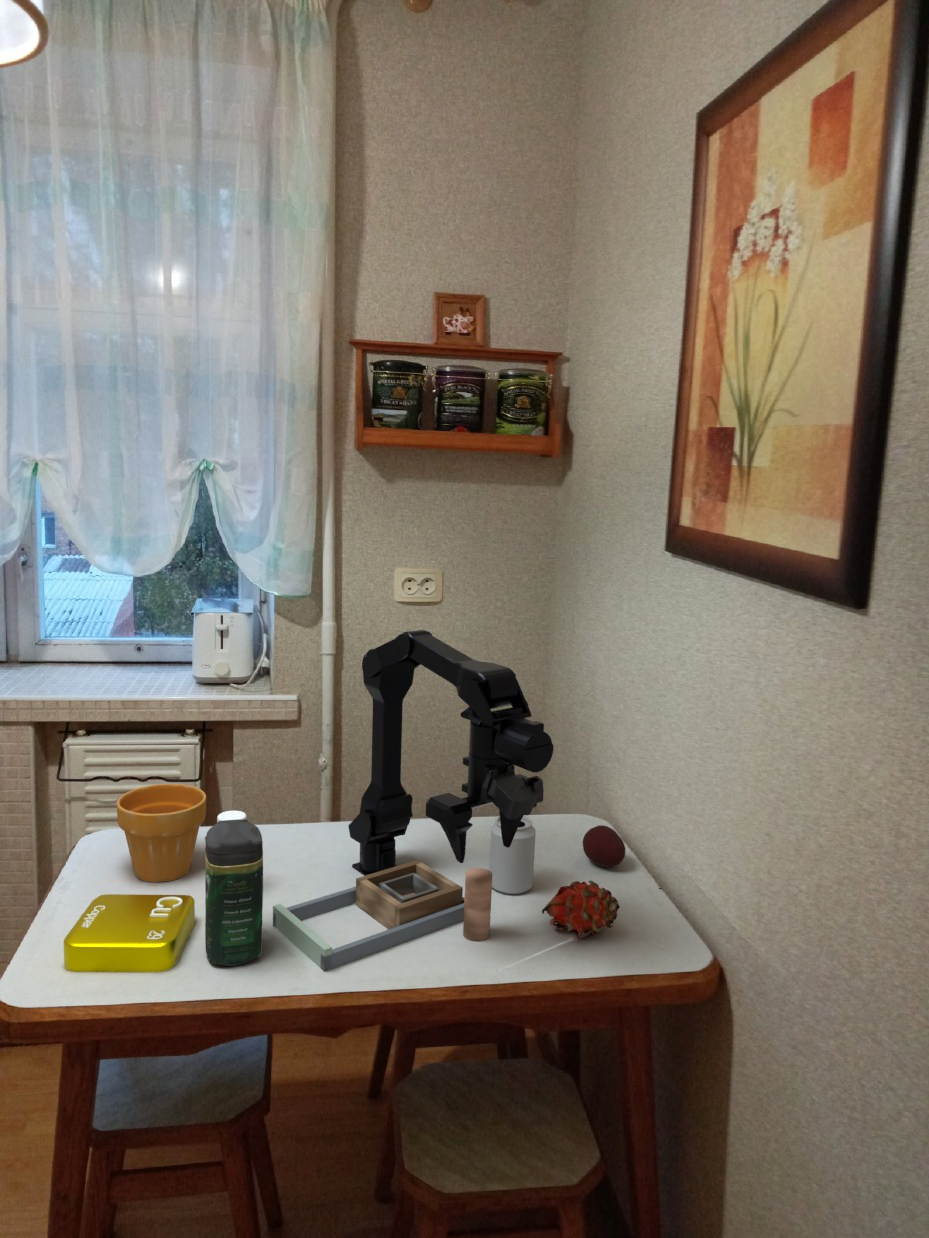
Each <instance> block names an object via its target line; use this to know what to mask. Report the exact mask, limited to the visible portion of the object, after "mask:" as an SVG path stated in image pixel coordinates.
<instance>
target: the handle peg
mask: <svg viewBox="0 0 929 1238" xmlns="http://www.w3.org/2000/svg"><path fill="white" fill-rule="evenodd" d="M464 876H465V882H464V898H465V899H464V921H463V928H462V936H463V938H465V940H468V941H470V942H476V943H477V942H483V941H486V940H488V939H489V938H490V933H491V913H492V893H493V890H492V889H493V887H492V872H490V871H489V869H486V868H482V867H481V868H480V867H474V868H469V869H468V870H466V872H465V875H464Z"/></svg>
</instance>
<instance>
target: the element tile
mask: <svg viewBox="0 0 929 1238" xmlns="http://www.w3.org/2000/svg"><path fill="white" fill-rule="evenodd" d="M195 902H196V901H195V898H194V897H193V896H192V895H190V894H189V895H188V894H121V893H120V894H118V893H117V894H113V893H112V894H109V893H108V894H100V895H99V896H97V897H95V898H94V899H93V900H92V901H91V902H90V903H89V905H88V906H87V907H86V908H85V910H84V912H83V913H82V914H81V916H80V917H79V918H78V920H77V921H76V923H75V924H74V925H73V927H72V928H71V929H70V931H69V932H68V933H67V935H66V936H65V938H64V939H63V941H62V942H63V960H64V963H63V965H64V969H65V970H66V971H69V972H72V973H161V972H162V973H163V972H166V971H169V970H170V969H172V968H174V967H175V966H176V965H177V963H178V961H179V959H180V957H181V955H182V952H183V951H184V947H185V946H186V943H187V941H188V939H189V937H190V935H191V934H192V931H193V928H194V927H195V924H196V923H195V921H196V916H195V915H196V910H195V909H196V908H195Z"/></svg>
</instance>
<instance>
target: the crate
mask: <svg viewBox="0 0 929 1238" xmlns="http://www.w3.org/2000/svg"><path fill="white" fill-rule="evenodd" d="M355 887H356V903H355V906H356V907H357V908H359V909H360V910H361V911H363V912H364V913H366V914H367V915H368V916H369V917H371V918H372V919H374V920H375V921H377V922H378V923H379V924H380V925H382V926H383V927H385V929H386V930H389V929H392V928H395V927H397V926H400V925H403V924H406V923H409V922H412V921H414V920H417V919H420V918H423V917H426V916H429V915H432V914H434V913H437V912H440V911H443V910H446V909H449V908H451V907H454V906H457V905H460V904H462V897H463V895H464V894H463V891H464V888H463V886H461V885H459V884H458V883H457V882H454V881H453V880H452V879H449V878H447V877H446V876H444V875H443V874H442V873H439V872H438V871H436V870H435V869H433V868H432V867H430V866H428V865H427V864H425V863H424V862H422V861H420V860H418V859H416V860H414V861H409V862H406V863H402V864H400V865H398V866H396V867H392V868H389V869H386V870H382V871H379V872H376V873H372V874H369V875H366V876H364V875H362V876H360V877H356V878H355Z"/></svg>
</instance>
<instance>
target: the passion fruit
mask: <svg viewBox="0 0 929 1238" xmlns="http://www.w3.org/2000/svg"><path fill="white" fill-rule="evenodd" d="M582 847H583V848H582V849H583V850H582V851H583V853H584V854H585V856H586V857H587V859H588V860H590V861H591V862H592V863H595V864H596V865H597V866H601V867H604V868H614V867H615V868H616V867H617V866H620V864H621V863H622V862H623V861H624V859H625V857H626V846H625V843H624V841H623V839H622V838H621V837H620V835H619V834H618V832H616V831H615V829H613V828H612V827H609V826H607V825H603V824H602V825H596V826H594V827H592V828H589V830H587V831H586V833H585V834H584V835H583V839H582Z"/></svg>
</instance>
